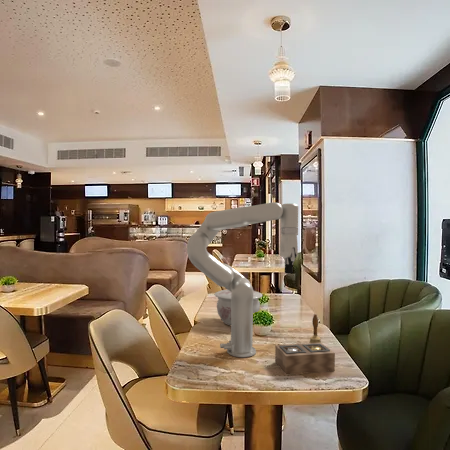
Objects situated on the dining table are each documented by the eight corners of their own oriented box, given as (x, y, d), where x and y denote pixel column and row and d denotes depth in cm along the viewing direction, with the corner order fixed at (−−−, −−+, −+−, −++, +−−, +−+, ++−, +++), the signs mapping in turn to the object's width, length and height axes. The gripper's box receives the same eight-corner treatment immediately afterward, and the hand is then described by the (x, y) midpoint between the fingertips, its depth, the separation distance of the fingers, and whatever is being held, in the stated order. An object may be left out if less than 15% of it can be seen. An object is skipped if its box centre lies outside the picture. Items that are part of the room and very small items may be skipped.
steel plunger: (289, 369, 137) (289, 351, 137) (285, 365, 141) (285, 348, 141) (299, 368, 138) (299, 351, 138) (295, 364, 142) (295, 347, 142)
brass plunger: (313, 367, 139) (313, 350, 139) (308, 363, 143) (309, 346, 143) (322, 367, 140) (322, 349, 140) (318, 363, 144) (318, 346, 144)
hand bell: (321, 354, 154) (322, 317, 154) (303, 350, 158) (303, 315, 158) (327, 348, 161) (327, 313, 161) (309, 345, 165) (309, 311, 165)
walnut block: (285, 374, 132) (286, 355, 132) (275, 362, 144) (275, 344, 144) (334, 370, 136) (334, 352, 136) (320, 359, 148) (320, 341, 148)
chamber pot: (264, 331, 185) (265, 292, 185) (212, 330, 186) (213, 291, 186) (260, 317, 213) (260, 283, 213) (215, 316, 214) (215, 282, 214)
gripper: (275, 231, 161) (274, 271, 161) (287, 232, 146) (287, 276, 146) (290, 231, 162) (290, 270, 163) (304, 232, 148) (303, 275, 148)
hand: (288, 273), depth 155 cm, fingers closed
